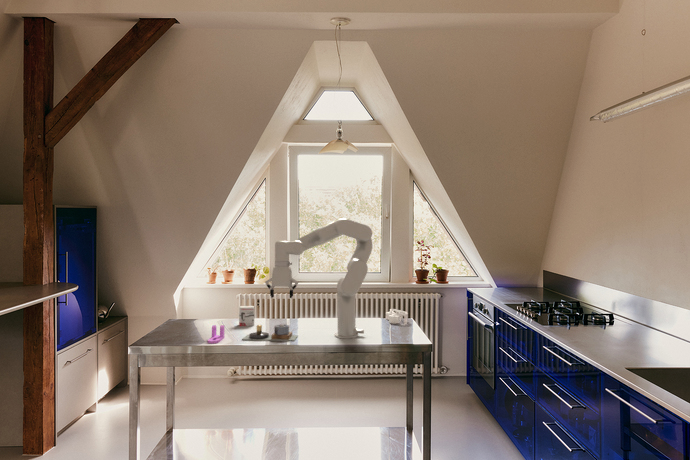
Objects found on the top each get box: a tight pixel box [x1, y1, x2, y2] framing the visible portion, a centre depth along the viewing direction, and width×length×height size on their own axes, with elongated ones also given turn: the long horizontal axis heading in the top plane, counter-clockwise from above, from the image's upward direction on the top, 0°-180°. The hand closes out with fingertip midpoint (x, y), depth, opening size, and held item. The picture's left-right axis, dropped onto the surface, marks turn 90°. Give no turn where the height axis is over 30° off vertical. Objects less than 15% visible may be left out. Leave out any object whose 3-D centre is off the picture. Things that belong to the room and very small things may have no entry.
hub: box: [248, 324, 270, 339], centre depth 244 cm, size 10×10×6 cm
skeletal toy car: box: [385, 308, 408, 326], centre depth 286 cm, size 20×11×7 cm, turn 5°
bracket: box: [207, 324, 225, 345], centre depth 238 cm, size 13×6×7 cm, turn 0°
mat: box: [241, 334, 299, 342], centre depth 243 cm, size 27×11×1 cm, turn 86°
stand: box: [270, 324, 293, 339], centre depth 243 cm, size 9×9×6 cm
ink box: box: [238, 305, 255, 327], centre depth 275 cm, size 9×5×12 cm, turn 105°
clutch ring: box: [273, 324, 290, 335], centre depth 243 cm, size 7×7×4 cm
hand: (281, 297), depth 243 cm, fingers open, 9 cm apart
